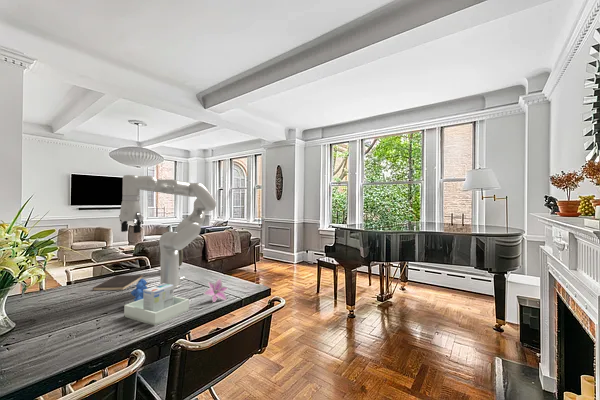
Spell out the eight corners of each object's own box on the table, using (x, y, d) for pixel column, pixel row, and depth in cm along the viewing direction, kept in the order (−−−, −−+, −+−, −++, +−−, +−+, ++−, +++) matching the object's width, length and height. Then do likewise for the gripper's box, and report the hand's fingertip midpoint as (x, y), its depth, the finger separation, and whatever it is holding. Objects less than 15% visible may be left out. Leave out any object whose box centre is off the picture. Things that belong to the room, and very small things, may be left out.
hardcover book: (143, 278, 174) (143, 275, 174) (123, 290, 151) (123, 286, 151) (116, 279, 172) (116, 275, 172) (92, 291, 149) (92, 287, 149)
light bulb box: (163, 305, 127) (163, 282, 127) (174, 308, 124) (174, 284, 124) (142, 314, 117) (142, 289, 117) (153, 317, 115) (153, 291, 114)
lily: (199, 305, 133) (205, 290, 130) (203, 289, 144) (208, 274, 141) (223, 310, 137) (229, 296, 134) (225, 294, 147) (231, 280, 144)
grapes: (134, 300, 135) (135, 276, 135) (149, 299, 137) (150, 275, 137) (126, 309, 124) (126, 283, 124) (142, 308, 126) (142, 282, 126)
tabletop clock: (181, 269, 196) (181, 234, 196) (183, 272, 189) (183, 236, 189) (158, 271, 189) (159, 235, 189) (159, 274, 181) (160, 237, 181)
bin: (159, 303, 133) (159, 292, 133) (188, 310, 125) (189, 299, 125) (124, 316, 117) (124, 305, 117) (155, 325, 109) (155, 313, 109)
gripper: (113, 198, 141) (112, 231, 141) (135, 199, 134) (134, 234, 134) (127, 198, 148) (127, 230, 148) (149, 199, 141) (148, 232, 141)
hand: (130, 232), depth 141 cm, fingers open, 9 cm apart
